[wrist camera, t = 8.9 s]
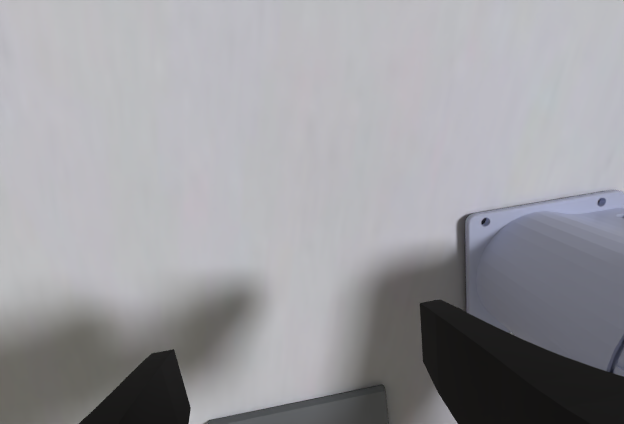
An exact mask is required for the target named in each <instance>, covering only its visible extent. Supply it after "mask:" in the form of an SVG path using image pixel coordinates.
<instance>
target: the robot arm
mask: <svg viewBox="0 0 624 424" xmlns="http://www.w3.org/2000/svg"><path fill="white" fill-rule="evenodd" d="M599 199H600V201H599V203H598V204H597V202H598V200H599ZM484 218H486V222H485V223H484V224H481V221H482V220H483V219H484ZM465 240H466V306H467V312H465V311H463V310H461V309H459V308H457V307H455V306H453V305H451V304H449V303H446V302H444V301H442V300H435V301H429V302H424V303H420V314H421V332H422V350H423V362H424V364H425V366H426V368H427V370H428V373H429V375H430V377H431V379H432V381H433V383H434V385H435V387H436V389H437V391H438V393H439V395H440V396H441V398H442V399H443V401H444V402H445V404H446V406H447V407H448V409H449V410H450V412H451V413H452V415H453V417H454V418H455V420H456V421H457V423H458V424H624V193H623V192H622V191H619V190H609V191H603V192H597V193H591V194H585V195H579V196H573V197H567V198H561V199H556V200H550V201H544V202H538V203H532V204H526V205H520V206H514V207H508V208H502V209H496V210H491V211H485V212H479V213H473V214H471V215H469V216H468V217H467V219H466V222H465ZM508 332H512V333H513V334H514V335H515V336H514V335H512V334H510V333H508ZM189 416H190V404H189V401H188V397H187V394H186V390H185V387H184V383H183V380H182V376H181V373H180V369H179V366H178V362H177V359H176V355H175V351H174V350H169V351H163V352H158V353H153V354H151V355H150V356H149V357H147V358H146V359H145V360H144V361H143V362H142V363H141V364H140V365H139V366H138V367H137V368H136V369H135V370H134V371H133V372H132V373H131V374H130V375H129V376H128V377H127V378H126V379H125V380H124V381H123V382H122V383H121V384H120V385H119V386H118V387H117V388H116V389H115V390H114V391H113V392H112V393H111V394H110V395H108V396H107V397H106V398H105V399H104V400H103V401H102V402H101V403H100V404H99V405H98V406H97V407H96V408H95V409H94V410H93V411H92V412H91V413H90V414H89V415H88V416H87V417H86V418H84V419H83V420H82V421H81V422H80V423H79V424H188V423H189Z"/></svg>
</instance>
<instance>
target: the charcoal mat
mask: <svg viewBox="0 0 624 424" xmlns="http://www.w3.org/2000/svg"><path fill="white" fill-rule="evenodd" d="M208 424H389V422H388V412H387V401H386V391H385V388H384V386H383V385H380V386H375V387H370V388H366V389H361V390H356V391H351V392H346V393H341V394H336V395H331V396H327V397H322V398H317V399H312V400H307V401H302V402H297V403H292V404H288V405H283V406H278V407H273V408H268V409H263V410H258V411H253V412H249V413H244V414H239V415H234V416H229V417H224V418H219V419H214V420H209V421H208Z"/></svg>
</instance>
